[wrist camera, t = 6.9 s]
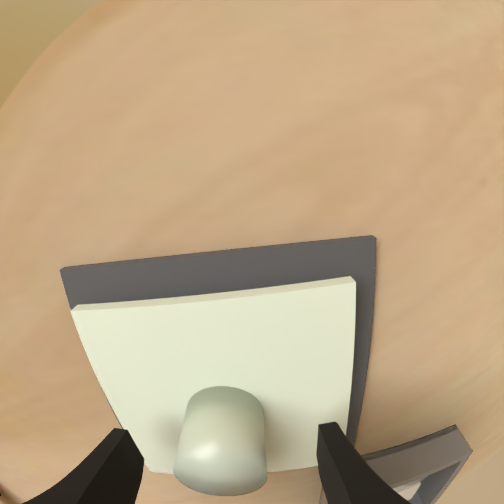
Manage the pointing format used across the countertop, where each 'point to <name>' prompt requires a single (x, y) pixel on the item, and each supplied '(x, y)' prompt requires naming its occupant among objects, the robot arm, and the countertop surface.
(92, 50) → the countertop surface
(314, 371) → the lid
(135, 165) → the countertop surface
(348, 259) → the mat
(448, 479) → the storage box
